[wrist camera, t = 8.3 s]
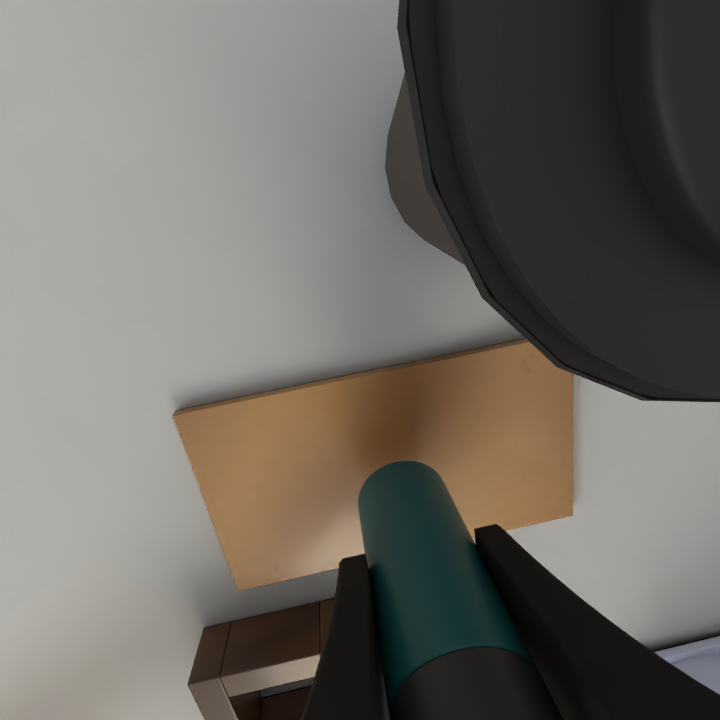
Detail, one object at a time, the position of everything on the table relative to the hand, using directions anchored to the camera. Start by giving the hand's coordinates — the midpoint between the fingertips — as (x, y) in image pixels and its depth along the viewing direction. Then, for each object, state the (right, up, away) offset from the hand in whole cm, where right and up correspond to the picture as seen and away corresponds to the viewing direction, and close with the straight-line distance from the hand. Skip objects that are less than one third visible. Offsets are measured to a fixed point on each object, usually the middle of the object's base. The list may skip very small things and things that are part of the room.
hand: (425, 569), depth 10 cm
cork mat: (-1, +1, +5) cm, 5 cm away
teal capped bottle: (0, +1, +3) cm, 3 cm away
